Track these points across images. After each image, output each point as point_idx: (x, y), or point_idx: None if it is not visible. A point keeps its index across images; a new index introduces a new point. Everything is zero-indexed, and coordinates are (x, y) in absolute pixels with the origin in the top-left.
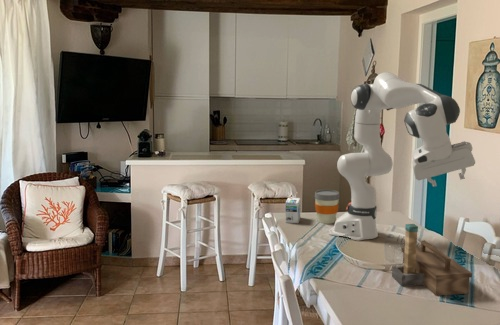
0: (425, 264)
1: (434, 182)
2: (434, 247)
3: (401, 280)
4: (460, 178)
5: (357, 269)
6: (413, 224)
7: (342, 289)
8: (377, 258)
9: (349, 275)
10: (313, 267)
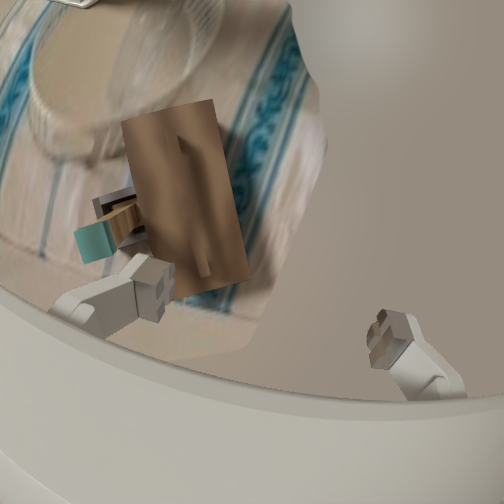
0: (155, 239)
1: (146, 318)
2: (188, 190)
3: None
4: (369, 347)
5: (40, 170)
6: (99, 231)
7: (22, 273)
8: (90, 94)
9: (26, 206)
10: None
